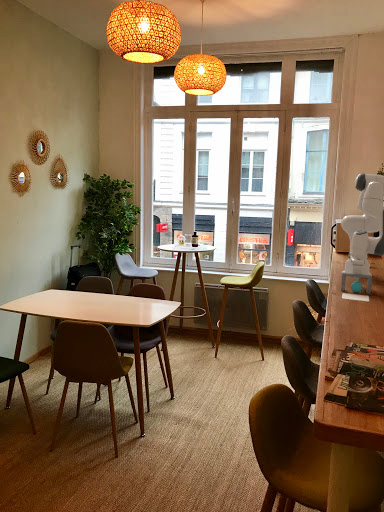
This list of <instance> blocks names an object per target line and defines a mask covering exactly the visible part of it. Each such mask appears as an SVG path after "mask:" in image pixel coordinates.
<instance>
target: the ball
mask: <svg viewBox="0 0 384 512" xmlns="http://www.w3.org/2000/svg"><path fill="white" fill-rule="evenodd" d="M350 289H351V291H352V292H353V293H356V294H357V293H360V292H362V291H363V289H364V288H363V284H362V283H361V282H360V281H358V282H357V281H356V282H354V281H353V282H352V283H351V285H350Z"/></svg>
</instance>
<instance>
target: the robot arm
mask: <svg viewBox="0 0 384 512" xmlns="http://www.w3.org/2000/svg"><path fill="white" fill-rule="evenodd" d="M354 187H355V189H356V190H357V191H360V192H359V196H358V199H357V205H356V206H357V209H358V210H359V211H360V212H361V213H363V215H359V214H350V215H345V216H343V217H342V219H341V222H340V226H341V227H340V228H342V230H343V231H344V232H345V233H346V234H347V235H348V238H349V252H348V259H346V260H345V263H344V266H345V267H344V269H343V270H341V274H343V273H351V274H362V275H372V274H373V273H371V272H370V267H371V266H370V262H369V261H368V260H369V255H370V254H371V255H375V256H379V257H382V256H384V175H381V174H375V173H373V174H372V173H363V172H362V173H359V174H358V175H357V176H356V178H355V179H354ZM377 232H379V236H377V237H375V236H369V233H370V234H371V233H377ZM372 276H373V275H372ZM352 278H353V280H354V281H353V282H356V281H357V282H359V279H361V278H360V277H352Z"/></svg>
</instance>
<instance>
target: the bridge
mask: <svg viewBox="0 0 384 512" xmlns="http://www.w3.org/2000/svg"><path fill="white" fill-rule="evenodd" d="M341 274H342V275H341V286H340V292H346V284H347V283H346V282H347V277H350V278H351V277H352V278H353V277H360V279H361V278H362V279H367V282H366V283H367V284H366V291H365V292H366V294H367V295H371V292H372V281H373V275H362V274H351V273H341Z"/></svg>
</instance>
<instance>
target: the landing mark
mask: <svg viewBox="0 0 384 512" xmlns="http://www.w3.org/2000/svg"><path fill="white" fill-rule="evenodd" d="M341 299H342V300H351V301H360V302H366V303H367V302H370V296H369V295H365V294H364V295H361V294H353V293H345V292H342V295H341Z"/></svg>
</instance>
